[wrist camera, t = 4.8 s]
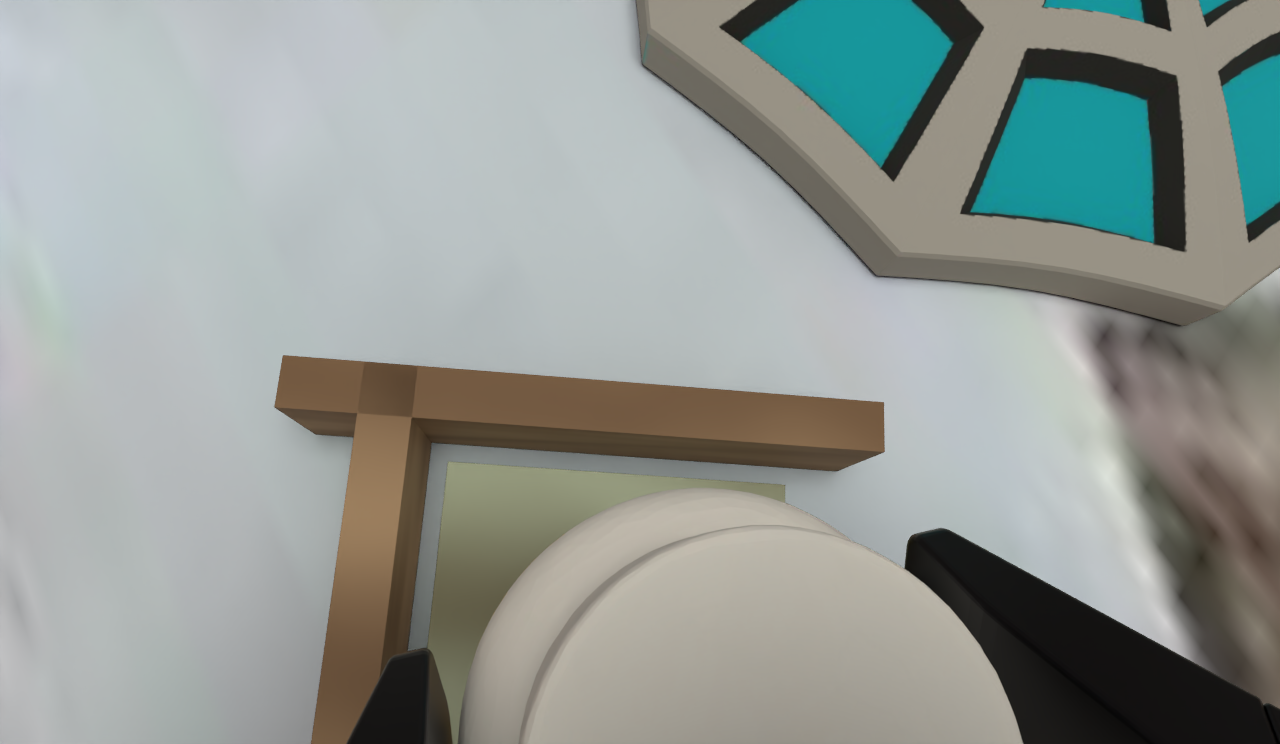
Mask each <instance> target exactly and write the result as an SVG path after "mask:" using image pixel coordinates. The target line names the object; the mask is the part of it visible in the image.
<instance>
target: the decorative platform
mask: <svg viewBox="0 0 1280 744" xmlns="http://www.w3.org/2000/svg"><path fill="white" fill-rule="evenodd" d="M636 3H637V13H638V22H639V33H640V44H641V56H642V63H643V65H644V66H646V67H647V68H648V69H650V70H651V71H652V72H654V73H655V74H656V75H658V76H659V77H661V78H662V79H663V80H665V81H666V82H667V83H669V84H670V85H671V86H673V87H674V88H675V89H677V90H678V91H679V92H681V93H682V94H683V95H685V96H686V97H687V98H689V99H690V100H691V101H692V102H694V103H695V104H696V105H698V106H699V107H700V108H702V109H703V110H704V111H706V112H707V113H708V114H709V115H711V116H712V117H713V118H714V119H716V120H717V121H718V122H719V123H721V124H722V125H723V126H724V127H726V128H727V129H728V130H729V131H731V132H732V133H733V134H734V135H736V136H737V137H738V138H739V139H740V140H742V141H743V142H744V143H745V144H746V145H747V146H749V147H750V148H751V149H752V150H753V151H754V152H756V153H757V154H758V155H759V156H760V157H761V158H763V159H764V160H765V161H766V162H767V163H768V164H769V165H770V166H771V167H772V168H773V169H774V170H776V171H777V172H778V173H779V174H780V175H781V176H782V177H783V178H784V179H785V180H786V181H787V182H788V183H789V184H790V185H791V186H792V187H793V188H794V189H795V190H796V191H797V192H798V193H799V194H800V195H801V196H802V197H803V198H804V199H805V200H806V201H807V202H808V203H809V204H810V205H811V206H812V207H813V208H814V209H815V210H816V211H817V212H818V213H819V214H820V215H821V216H822V217H823V218H824V219H825V220H826V221H827V222H828V223H829V225H830V226H831V227H832V228H833V229H834V230H835V231H836V232H837V233H838V234H839V235H840V236H841V237H842V238H843V239H844V241H845V242H846V243H847V244H848V245H849V246H850V247H851V248H852V249H853V250H854V251H855V252H856V254H857V255H858V256H859V257H860V258H861V259H862V260H863V261H864V262H865V263H866V264H867V266H868V267H869V268H870V269H871V270H872V271H873V272H874V273H875V274H876V275H878V276H894V277H911V278H925V279H939V280H952V281H963V282H973V283H983V284H993V285H1000V286H1008V287H1015V288H1022V289H1029V290H1035V291H1041V292H1046V293H1051V294H1056V295H1061V296H1067V297H1071V298H1076V299H1080V300H1084V301H1089V302H1093V303H1097V304H1102V305H1106V306H1110V307H1114V308H1118V309H1122V310H1125V311H1129V312H1133V313H1137V314H1141V315H1145V316H1149V317H1152V318H1156V319H1160V320H1163V321H1167V322H1171V323H1174V324H1178V325H1182V326H1186V325H1188V324H1191V323H1193V322H1196V321H1198V320H1201V319H1203V318H1205V317H1208V316H1210V315H1213V314H1215V313H1218V312H1220V311H1222V310H1224V309H1225V308H1226V307H1228V306H1229V305H1230V304H1231V303H1233V302H1234V301H1235V300H1237V299H1238V298H1239V297H1241V296H1242V295H1243V294H1245V293H1246V292H1247V291H1248V290H1250V289H1251V288H1252V287H1254V286H1255V285H1256V284H1258V283H1259V282H1261V281H1262V280H1263V279H1265V278H1266V277H1267V276H1269V275H1270V274H1271V273H1273V272H1274V271H1275V270H1277V269H1278V268H1279V267H1280V0H636Z"/></svg>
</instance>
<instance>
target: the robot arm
mask: <svg viewBox="0 0 1280 744" xmlns="http://www.w3.org/2000/svg"><path fill="white" fill-rule="evenodd" d="M905 570H907V571H909V572H910V573H911V574H912V575H914V576H915V577H916V578H918V579H919V580H920V581H922V582H923V583H924V584H925V585H927V586H928V587H929V588H930V589H931V590H932V591H933V592H934V593H935V594H936V595H937V596H938V597H939V598H940V599H942V600H943V601H944V602H945V603H946V604H947V605H948V606H949V607H950V608H951V609H952V611H953V612H954V613H955V614H956V615H957V616H958V618H959V619H960V620H961V621H962V622H963V624H964V625H965V626H966V627H967V629H968V630H969V631H970V633H971V634H972V635H973V637H974V638H975V639H976V641H977V642H978V643H979V645H980V646H981V648H982V650H983V652H984V653H985V655H986V657H987V658H988V660H989V661H990V663H991V665H992V666H993V668H994V669H995V671H996V672H997V675H998V677H999V679H1000V682H1001V684H1002V686H1003V688H1004V691H1005V693H1006V695H1007V698H1008V700H1009V703H1010V705H1011V708H1012V710H1013V713H1014V715H1015V718H1016V721H1017V724H1018V728H1019V731H1020V735H1021V738H1022V741H1023V744H1280V709H1279V708H1277V707H1275V706H1273V705H1271V704H1269V703H1266V704H1264V705H1263V703H1262V701H1261V700H1260V699H1259V698H1258V697H1256V696H1254V695H1253V694H1251V693H1249V692H1247V691H1245V690H1243V689H1241V688H1240V687H1238V686H1236V685H1234V684H1232V683H1230V682H1229V681H1227V680H1225V679H1223V678H1221V677H1219V676H1218V675H1216V674H1214V673H1212V672H1210V671H1208V670H1206V669H1205V668H1203V667H1201V666H1199V665H1197V664H1195V663H1194V662H1192V661H1190V660H1188V659H1186V658H1184V657H1183V656H1181V655H1179V654H1177V653H1175V652H1173V651H1171V650H1170V649H1168V648H1166V647H1164V646H1162V645H1160V644H1159V643H1157V642H1155V641H1153V640H1151V639H1149V638H1147V637H1146V636H1144V635H1142V634H1140V633H1138V632H1136V631H1135V630H1133V629H1131V628H1129V627H1127V626H1125V625H1124V624H1122V623H1120V622H1118V621H1116V620H1114V619H1112V618H1111V617H1109V616H1107V615H1105V614H1103V613H1101V612H1100V611H1098V610H1096V609H1094V608H1092V607H1090V606H1089V605H1087V604H1085V603H1083V602H1081V601H1079V600H1077V599H1076V598H1074V597H1072V596H1070V595H1068V594H1066V593H1065V592H1063V591H1061V590H1059V589H1057V588H1055V587H1054V586H1052V585H1050V584H1048V583H1046V582H1044V581H1042V580H1041V579H1039V578H1037V577H1035V576H1033V575H1031V574H1030V573H1028V572H1026V571H1024V570H1022V569H1020V568H1018V567H1017V566H1015V565H1013V564H1011V563H1009V562H1007V561H1006V560H1004V559H1002V558H1000V557H998V556H996V555H995V554H993V553H991V552H989V551H987V550H985V549H983V548H982V547H980V546H978V545H976V544H974V543H972V542H971V541H969V540H967V539H965V538H963V537H961V536H960V535H958V534H956V533H954V532H952V531H950V530H947V529H944V528H938V529H934V530H929V531H925V532H921V533H917V534H914V535H912V536H911V537H910V539H909V540H908V544H907V550H906V560H905ZM346 744H453V742H452V732H451V723H450V715H449V708H448V703H447V699H446V695H445V692H444V689H443V685H442V682H441V679H440V675H439V672H438V669H437V666H436V662H435V659H434V656H433V653H432V652H431V651H430V649H427V648H421V649H417V650H413V651H408V652H404V653H400V654H396V655H394V656H392V657H391V658H390V659H389V660H388V662H387V664H386V666H385V668H384V670H383V672H382V674H381V676H380V678H379V680H378V682H377V684H376V686H375V687H374V689H373V691H372V693H371V695H370V697H369V699H368V701H367V703H366V705H365V707H364V709H363V711H362V713H361V715H360V717H359V719H358V721H357V723H356V725H355V727H354V729H353V731H352V733H351V735H350V737H349V739H348V741H347V743H346Z"/></svg>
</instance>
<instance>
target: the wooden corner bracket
mask: <svg viewBox="0 0 1280 744" xmlns="http://www.w3.org/2000/svg"><path fill="white" fill-rule="evenodd" d="M275 408H276V409H278V410H279V411H281V412H282V413H284V414H285V415H287V416H288V417H290V418H291V419H293V420H294V421H296V422H297V423H299V424H300V425H302V426H303V427H305V428H306V429H308V430H310V431H311V432H313V433H314V434H318V435H332V436H346V437H354V439H353V447H352V454H351V461H350V468H349V475H348V482H347V490H346V497H345V504H344V511H343V518H342V525H341V533H340V540H339V547H338V554H337V561H336V568H335V576H334V583H333V590H332V597H331V604H330V611H329V619H328V626H327V633H326V640H325V647H324V654H323V662H322V669H321V676H320V683H319V690H318V697H317V705H316V712H315V719H314V726H313V733H312V740H311V744H346V743H347V741H348V739H349V737H350V735H351V733H352V731H353V729H354V727H355V725H356V723H357V721H358V719H359V717H360V715H361V713H362V711H363V709H364V707H365V705H366V703H367V701H368V699H369V697H370V695H371V693H372V691H373V689H374V687H375V686H376V684H377V682H378V680H379V678H380V676H381V674H382V672H383V670H384V668H385V666H386V664H387V662H388V660H389V659H390V658H391V657H392V656H394V655H396V654H400V653H404V652H407V650H408V641H409V633H410V624H411V616H412V607H413V599H414V590H415V581H416V573H417V564H418V556H419V547H420V539H421V530H422V521H423V513H424V504H425V496H426V487H427V478H428V470H429V461H430V453H431V444H432V443H445V444H459V445H473V446H487V447H501V448H515V449H529V450H543V451H557V452H572V453H586V454H600V455H614V456H628V457H642V458H656V459H670V460H684V461H698V462H713V463H727V464H741V465H755V466H769V467H783V468H797V469H811V470H825V471H839V470H841V469H844V468H846V467H849V466H851V465H854V464H856V463H858V462H861V461H863V460H866V459H868V458H871V457H873V456H876V455H878V454H881V453H883V452H885V448H884V402H872V401H860V400H847V399H834V398H821V397H809V396H796V395H783V394H770V393H758V392H745V391H732V390H719V389H707V388H694V387H681V386H668V385H655V384H643V383H630V382H617V381H604V380H592V379H579V378H566V377H553V376H541V375H528V374H515V373H502V372H490V371H477V370H464V369H451V368H439V367H426V366H413V365H400V364H388V363H375V362H362V361H349V360H337V359H324V358H311V357H298V356H286V355H283V358H282V364H281V370H280V376H279V382H278V388H277V395H276V401H275ZM686 488H717V489H729V490H736V491H743V492H749V493H753V494H757V495H761V496H765V497H768V498H772V499H775V500H778V501H781V502H784V503H785V485H779V484H764V483H750V482H735V481H721V480H707V479H692V478H678V477H663V476H649V475H634V474H620V473H605V472H591V471H576V470H562V469H547V468H533V467H519V466H504V465H490V464H475V463H461V462H448V465H447V474H446V483H445V492H444V501H443V510H442V519H441V528H440V537H439V546H438V555H437V564H436V573H435V582H434V591H433V600H432V609H431V618H430V627H429V636H428V645H427V649H430V651H431V652H432V653H433V656H434V659H435V662H436V666H437V669H438V672H439V675H440V679H441V682H442V685H443V689H444V692H445V695H446V699H447V703H448V708H449V715H450V723H451V732H452V742H453V744H458V735H459V723H460V715H461V708H462V702H463V696H464V692H465V687H466V683H467V679H468V674H469V671H470V668H471V665H472V662H473V659H474V656H475V653H476V649H477V647H478V644H479V642H480V639H481V637H482V635H483V633H484V631H485V629H486V627H487V625H488V623H489V621H490V619H491V617H492V615H493V613H494V612H495V610H496V609H497V607H498V606H499V604H500V602H501V601H502V599H503V598H504V596H505V595H506V593H507V592H508V590H509V589H510V588H511V586H512V585H513V584H514V583H515V581H516V580H517V579H518V577H519V576H520V575H521V574H522V572H523V571H524V570H525V569H526V568H527V567H528V566H529V565H530V564H531V563H532V561H533V560H534V559H535V558H537V557H538V556H539V555H540V554H541V553H542V552H543V551H544V550H545V549H546V548H547V547H548V546H549V545H551V544H552V543H553V542H554V541H556V540H557V539H558V538H560V537H561V536H562V535H563V534H565V533H566V532H568V531H569V530H570V529H572V528H573V527H575V526H576V525H578V524H580V523H581V522H583V521H584V520H586V519H588V518H590V517H592V516H594V515H596V514H598V513H599V512H601V511H603V510H606V509H608V508H610V507H612V506H614V505H617V504H619V503H622V502H625V501H628V500H631V499H633V498H636V497H639V496H643V495H647V494H651V493H656V492H661V491H667V490H674V489H686Z"/></svg>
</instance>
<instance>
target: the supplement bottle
mask: <svg viewBox="0 0 1280 744" xmlns="http://www.w3.org/2000/svg"><path fill="white" fill-rule="evenodd" d="M458 744H1023V741H1022V738H1021V735H1020V731H1019V728H1018V724H1017V721H1016V718H1015V715H1014V713H1013V710H1012V708H1011V705H1010V703H1009V700H1008V698H1007V695H1006V693H1005V691H1004V688H1003V686H1002V684H1001V682H1000V679H999V677H998V675H997V672H996V671H995V669H994V668H993V666H992V665H991V663H990V661H989V660H988V658H987V657H986V655H985V653H984V652H983V650H982V648H981V646H980V645H979V643H978V642H977V641H976V639H975V638H974V637H973V635H972V634H971V633H970V631H969V630H968V629H967V627H966V626H965V625H964V624H963V622H962V621H961V620H960V619H959V618H958V616H957V615H956V614H955V613H954V612H953V611H952V609H951V608H950V607H949V606H948V605H947V604H946V603H945V602H944V601H943V600H942V599H940V598H939V597H938V596H937V595H936V594H935V593H934V592H933V591H932V590H931V589H930V588H929V587H928V586H927V585H925V584H924V583H923V582H922V581H920V580H919V579H918V578H916V577H915V576H914V575H912V574H911V573H910V572H909V571H907V570H905V569H904V568H902V567H900V566H899V565H897V564H896V563H894V562H892V561H891V560H889V559H887V558H886V557H884V556H882V555H880V554H878V553H876V552H874V551H873V550H871V549H869V548H867V547H865V546H862V545H860V544H858V543H855V542H853V541H851V540H850V539H849V538H847V537H846V536H845V535H843V534H842V533H840V532H839V531H837V530H836V529H835V528H833V527H831V526H830V525H828V524H827V523H825V522H824V521H822V520H820V519H818V518H816V517H814V516H812V515H810V514H808V513H806V512H804V511H802V510H800V509H798V508H796V507H794V506H792V505H789V504H786V503H784V502H781V501H778V500H775V499H772V498H768V497H765V496H761V495H757V494H753V493H749V492H743V491H736V490H729V489H717V488H686V489H674V490H667V491H661V492H656V493H651V494H647V495H643V496H639V497H636V498H633V499H631V500H628V501H625V502H622V503H619V504H617V505H614V506H612V507H610V508H608V509H606V510H603V511H601V512H599V513H598V514H596V515H594V516H592V517H590V518H588V519H586V520H584V521H583V522H581V523H580V524H578V525H576V526H575V527H573V528H572V529H570V530H569V531H568V532H566V533H565V534H563V535H562V536H561V537H560V538H558V539H557V540H556V541H554V542H553V543H552V544H551V545H549V546H548V547H547V548H546V549H545V550H544V551H543V552H542V553H541V554H540V555H539V556H538V557H537V558H535V559H534V560H533V561H532V563H531V564H530V565H529V566H528V567H527V568H526V569H525V570H524V571H523V572H522V574H521V575H520V576H519V577H518V579H517V580H516V581H515V583H514V584H513V585H512V586H511V588H510V589H509V590H508V592H507V593H506V595H505V596H504V598H503V599H502V601H501V602H500V604H499V606H498V607H497V609H496V610H495V612H494V613H493V615H492V617H491V619H490V621H489V623H488V625H487V627H486V629H485V631H484V633H483V635H482V637H481V639H480V642H479V644H478V647H477V649H476V653H475V656H474V659H473V662H472V665H471V668H470V671H469V674H468V679H467V683H466V687H465V692H464V696H463V702H462V708H461V715H460V723H459V735H458Z"/></svg>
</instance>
